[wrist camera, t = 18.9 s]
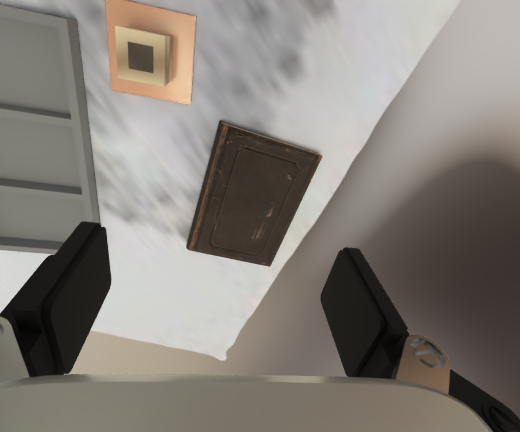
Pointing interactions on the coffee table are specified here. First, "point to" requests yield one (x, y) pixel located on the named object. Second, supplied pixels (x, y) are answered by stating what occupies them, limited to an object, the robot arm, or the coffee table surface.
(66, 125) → the grey organiser
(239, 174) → the hardcover book
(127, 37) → the birch cube
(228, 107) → the coffee table surface
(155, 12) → the terracotta tile
